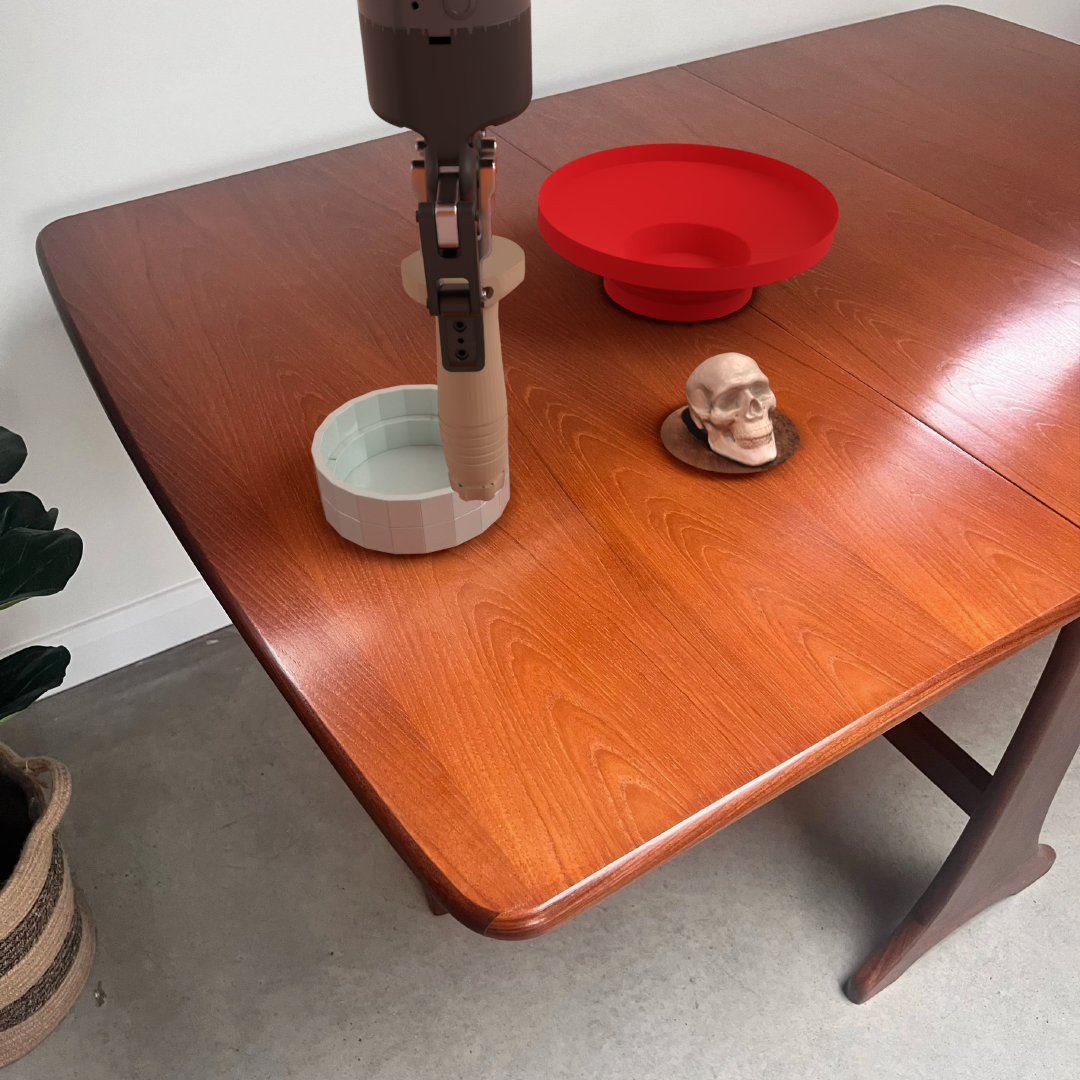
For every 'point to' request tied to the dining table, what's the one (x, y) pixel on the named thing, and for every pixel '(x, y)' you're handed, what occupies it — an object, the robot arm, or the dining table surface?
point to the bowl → (686, 225)
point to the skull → (730, 419)
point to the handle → (474, 380)
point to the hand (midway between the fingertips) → (467, 336)
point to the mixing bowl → (395, 475)
